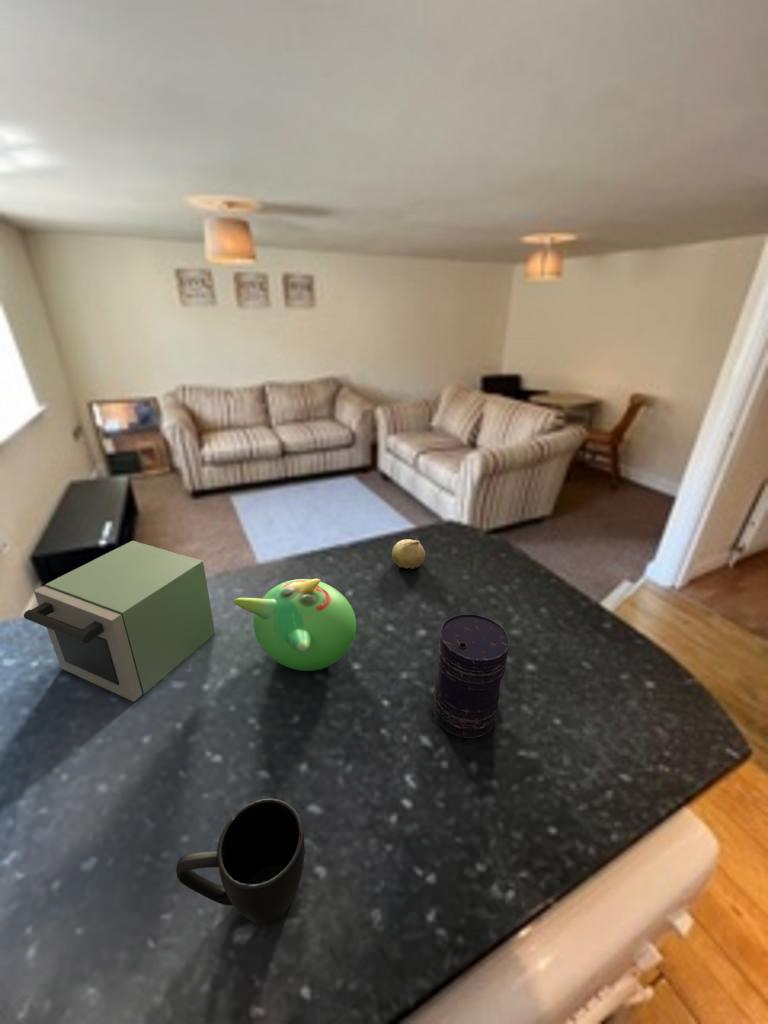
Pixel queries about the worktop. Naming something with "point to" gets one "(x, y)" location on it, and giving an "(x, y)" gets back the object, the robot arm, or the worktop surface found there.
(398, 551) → the onion
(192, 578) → the oven
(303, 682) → the worktop surface
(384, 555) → the worktop surface
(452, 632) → the dark oil drum
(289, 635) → the toy bird
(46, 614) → the door
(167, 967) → the worktop surface
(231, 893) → the mug
